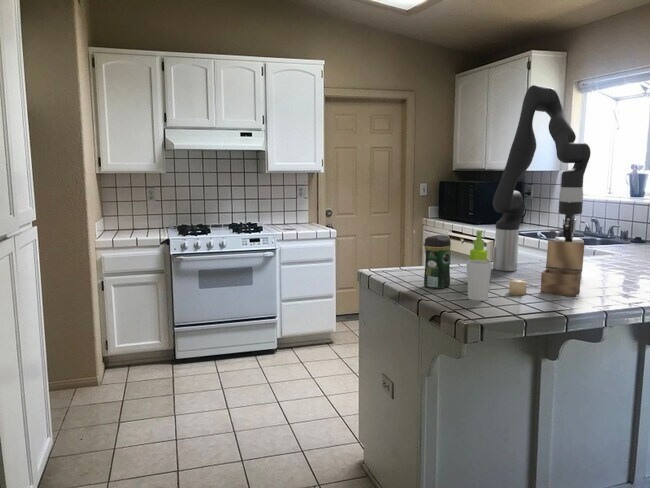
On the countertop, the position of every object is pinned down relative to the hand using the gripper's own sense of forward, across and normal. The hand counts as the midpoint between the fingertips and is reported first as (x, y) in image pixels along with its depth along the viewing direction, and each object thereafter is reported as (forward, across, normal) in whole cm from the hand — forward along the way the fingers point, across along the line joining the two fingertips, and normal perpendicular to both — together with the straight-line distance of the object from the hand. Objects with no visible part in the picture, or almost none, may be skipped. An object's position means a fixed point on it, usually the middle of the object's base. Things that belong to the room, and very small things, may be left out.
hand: (568, 249), depth 190 cm
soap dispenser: (+14, +15, -27) cm, 34 cm away
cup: (+14, +34, -21) cm, 43 cm away
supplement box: (+14, -24, -3) cm, 27 cm away
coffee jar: (+14, +24, -39) cm, 48 cm away
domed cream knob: (+14, +20, -12) cm, 27 cm away
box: (+14, +10, 0) cm, 17 cm away
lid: (+2, +6, 0) cm, 6 cm away
